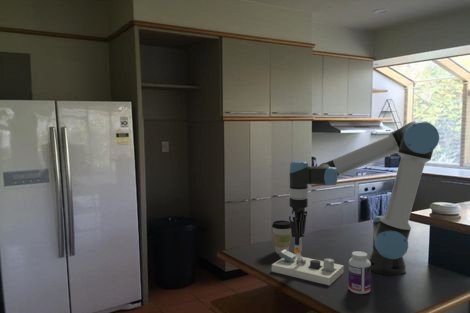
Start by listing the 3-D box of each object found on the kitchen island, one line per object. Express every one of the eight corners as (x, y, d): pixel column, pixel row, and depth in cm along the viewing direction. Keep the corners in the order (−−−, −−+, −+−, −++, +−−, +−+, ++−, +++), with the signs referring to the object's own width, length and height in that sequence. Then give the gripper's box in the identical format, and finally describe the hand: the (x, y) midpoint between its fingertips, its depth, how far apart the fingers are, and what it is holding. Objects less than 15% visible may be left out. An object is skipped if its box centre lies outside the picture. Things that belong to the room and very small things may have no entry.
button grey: (335, 269, 158) (335, 259, 158) (331, 272, 155) (331, 262, 154) (325, 267, 160) (325, 257, 160) (321, 270, 157) (322, 260, 157)
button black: (321, 270, 162) (321, 261, 161) (317, 273, 158) (317, 264, 158) (312, 268, 164) (312, 259, 164) (308, 271, 161) (308, 262, 160)
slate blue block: (295, 259, 169) (296, 254, 168) (290, 262, 165) (291, 257, 165) (283, 253, 172) (284, 248, 171) (278, 256, 168) (280, 251, 168)
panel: (343, 272, 162) (343, 261, 162) (329, 285, 149) (329, 274, 149) (289, 260, 177) (288, 250, 177) (271, 271, 164) (271, 261, 164)
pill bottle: (365, 285, 149) (366, 249, 147) (374, 294, 141) (374, 256, 139) (345, 286, 148) (345, 250, 147) (352, 295, 140) (352, 257, 139)
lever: (304, 260, 165) (300, 246, 160) (302, 265, 163) (297, 251, 159) (299, 259, 166) (294, 245, 162) (297, 263, 165) (292, 250, 160)
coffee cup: (291, 256, 183) (291, 225, 181) (271, 255, 185) (270, 224, 183) (292, 249, 192) (292, 220, 191) (273, 248, 194) (272, 219, 193)
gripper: (297, 194, 168) (297, 245, 171) (283, 199, 158) (283, 254, 160) (313, 196, 164) (312, 249, 166) (299, 201, 154) (299, 258, 156)
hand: (298, 251), depth 163 cm, fingers closed
